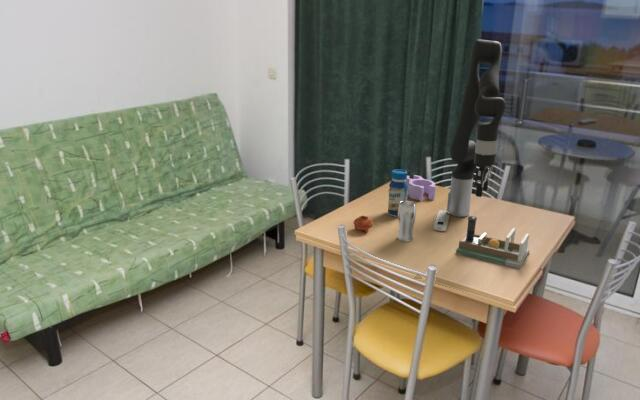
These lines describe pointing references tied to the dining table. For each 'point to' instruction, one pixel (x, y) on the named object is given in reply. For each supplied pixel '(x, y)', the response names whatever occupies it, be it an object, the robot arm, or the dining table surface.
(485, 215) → the dining table surface
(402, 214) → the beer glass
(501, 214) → the dining table surface
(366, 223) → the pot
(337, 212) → the dining table surface
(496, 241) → the ball
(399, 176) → the beverage bottle
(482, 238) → the slider
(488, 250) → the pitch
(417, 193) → the clip
